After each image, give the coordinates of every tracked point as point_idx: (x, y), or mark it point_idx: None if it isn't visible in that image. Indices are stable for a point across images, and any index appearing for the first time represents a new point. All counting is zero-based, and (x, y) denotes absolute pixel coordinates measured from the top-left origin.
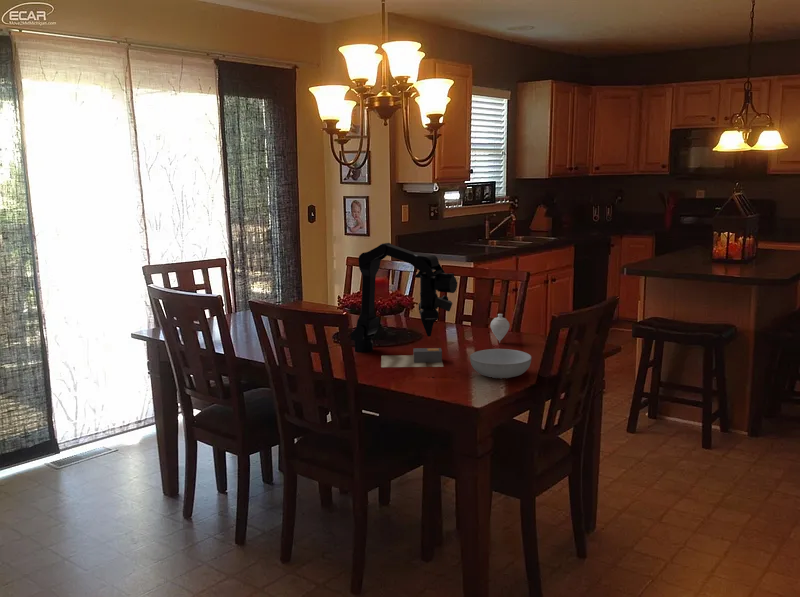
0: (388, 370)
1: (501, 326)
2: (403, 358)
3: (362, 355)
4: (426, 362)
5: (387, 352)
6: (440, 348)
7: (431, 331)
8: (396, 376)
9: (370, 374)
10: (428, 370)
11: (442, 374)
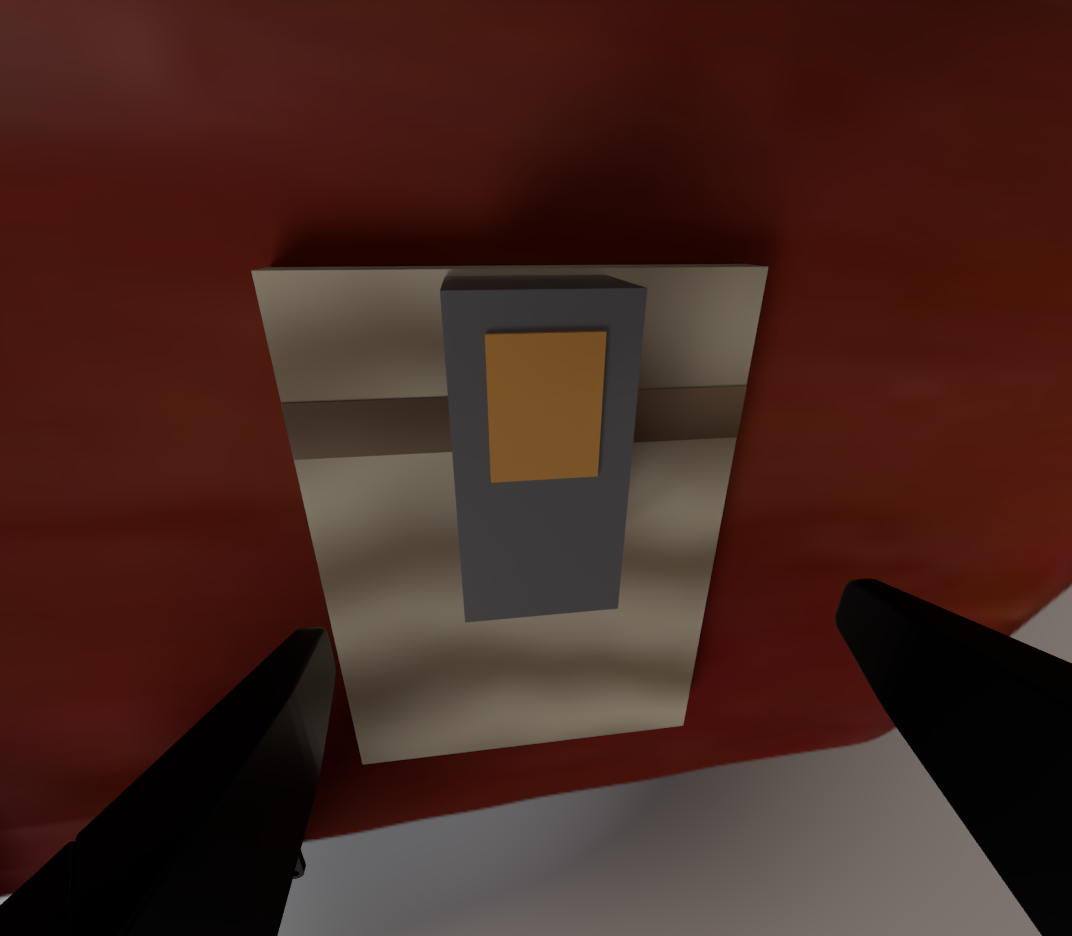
0: None
1: None
2: (444, 624)
3: None
4: None
5: (125, 728)
6: (466, 298)
7: (1006, 639)
8: (803, 613)
9: (723, 737)
10: None
11: (855, 284)
